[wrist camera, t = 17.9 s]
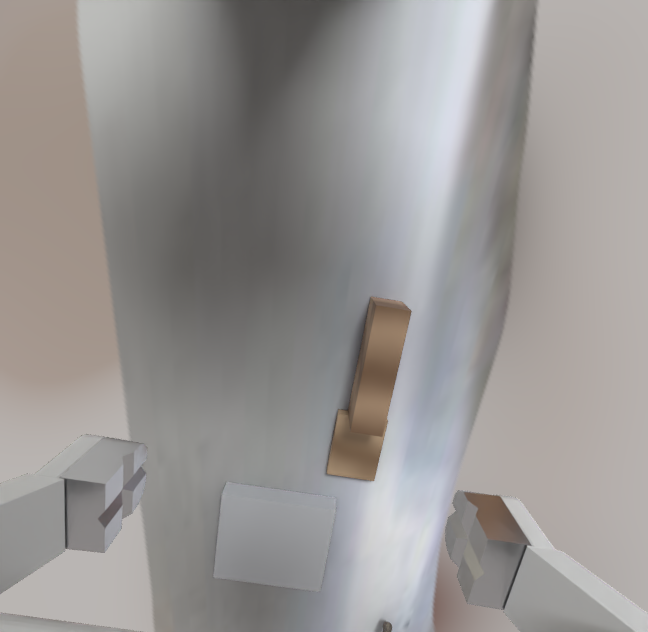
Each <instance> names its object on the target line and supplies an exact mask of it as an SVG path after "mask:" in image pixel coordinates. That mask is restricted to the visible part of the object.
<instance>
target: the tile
mask: <svg viewBox="0 0 648 632" xmlns="http://www.w3.org/2000/svg"><path fill="white" fill-rule="evenodd" d="M335 515H336V498H335V497H328V496H322V495H315V494H308V493H301V492H294V491H287V490H280V489H273V488H266V487H259V486H252V485H245V484H238V483H231V482H226V485H225V487H224V490H223V492H222V497H221V506H220V516H219V525H218V535H217V544H216V554H215V563H214V573H213V578H219V579H227V580H234V581H241V582H248V583H256V584H263V585H270V586H277V587H285V588H292V589H299V590H306V591H314V592H320V591H321V586H322V581H323V576H324V571H325V566H326V561H327V556H328V551H329V545H330V540H331V535H332V530H333V525H334V520H335Z"/></svg>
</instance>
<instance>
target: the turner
mask: <svg viewBox="0 0 648 632" xmlns="http://www.w3.org/2000/svg"><path fill="white" fill-rule="evenodd" d="M410 315H411V310H410V309H409V308H408V307H407V306H406V305H405V304H404V303H403V302H401V301H395V300H389V299H383V298H377V297H371V298H370V303H369V308H368V313H367V318H366V323H365V328H364V333H363V338H362V343H361V348H360V353H359V358H358V363H357V368H356V373H355V378H354V383H353V388H352V392H351V397H350V402H349V407H348V411H347V410H341V409H338V413H337V418H336V423H335V428H334V433H333V439H332V444H331V449H330V454H329V459H328V465H327V474H330V475H337V476H344V477H350V478H357V479H363V480H370V481H374V479H375V475H376V470H377V466H378V462H379V457H380V453H381V449H382V445H383V440H384V436H385V432H386V427H387V423H388V420H387V415H388V411H389V406H390V402H391V398H392V393H393V389H394V385H395V380H396V376H397V372H398V367H399V363H400V359H401V354H402V350H403V346H404V341H405V337H406V333H407V328H408V324H409V320H410Z"/></svg>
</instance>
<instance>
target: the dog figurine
mask: <svg viewBox="0 0 648 632" xmlns="http://www.w3.org/2000/svg"><path fill="white" fill-rule="evenodd" d="M391 630H392V625H391V623H389V622H384V624H383V632H391Z"/></svg>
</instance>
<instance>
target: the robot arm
mask: <svg viewBox="0 0 648 632" xmlns="http://www.w3.org/2000/svg"><path fill="white" fill-rule="evenodd" d="M146 459H147V446H146V445H145V444H144V443H138V442H133V441H127V440H120V439H115V438H109V437H102V436H96V435H89V434H86V435H81V436H80V437H79V438H78V439H76V440H75V441H74V442H73V443H72V444H70V445H69V446H68V447H67V448H65V449H64V450H63V451H62V452H61V453H59V454H58V455H57V456H56V457H55V458H53V459H52V460H51V461H50V462H48V463H47V464H46V465H45V466H44V467H42V468H41V469H40V470H39V471H38V472H36V473H35V474H25V475H22V476H19V477H16V478H13V479H11V480H8V481H5V482H2V483H0V594H1V593H3V592H4V591H6V590H7V589H9V588H10V587H11V586H13V585H15V584H16V583H18V582H19V581H21V580H22V579H24V578H25V577H27V576H28V575H30V574H31V573H33V572H34V571H36V570H37V569H39V568H40V567H42V566H43V565H45V564H46V563H48V562H49V561H51V560H52V559H54V558H56V557H57V556H59V555H60V554H62V553H63V552H65V549H72V550H82V551H91V552H101V553H105V551H106V550H107V549H108V547H109V546H110V544H111V543H112V542H113V540H114V539H115V537H116V536H117V534H118V533H119V532H120V530H121V528H122V519H123V518H125V517H127V516H129V515H130V514H132V513H133V511H134V510H135V508H136V507H137V505H138V504H139V501H140V499H141V497H142V494H143V492H144V488H145V483H146V472H145V471H144V469H143V468H142V466H141V465H142V464H143V463H144V461H145V460H146ZM453 506H454V508H455V510H456V511H455V512H454V513H453V514H452V515H451V516H449V517H448V520H447V524H446V530H445V541H446V546H447V551H448V553H449V556H450V559H451V560H452V561H453V562H454V563H455V564H456V565H457V566H458V567H459V570H458V574H457V578H458V581H459V583H460V586H461V588H462V591H463V594H464V596H465V599H466V602H467V604H472V605H477V606H483V607H489V608H495V609H501V610H504V611H503V612H504V613H505V614H506V616H507V617H508V618H509V619H510V620H511V621H512V623H513V624H514V625H515V626H516V627H517V628H518V630H519V631H520V632H648V613H647V612H645V611H644V610H643V609H641V608H640V607H639V606H637V605H636V604H634V603H633V602H631V601H630V600H629V599H628V598H626V597H625V596H623V595H622V594H620V593H619V592H618V591H617V590H615V589H614V588H612V587H611V586H610V585H608V584H607V583H606V582H604V581H603V580H601V579H600V578H599V577H597V576H596V575H594V574H593V573H592V572H590V571H589V570H588V569H586V568H585V567H583V566H582V565H581V564H579V563H578V562H577V561H575V560H574V559H572V558H571V557H570V556H568V555H567V554H566V553H564V552H563V551H560V550H555V548H554V547H553V546H552V544H551V543H550V541H549V540H548V539H547V537H546V536H545V535H544V533H543V532H542V530H541V529H540V527H539V526H538V525H537V523H536V522H535V520H534V519H533V518H532V516H531V515H530V513H529V512H528V511H527V509H526V508H525V506H524V505H523V504H522V502H521V501H520V500H519V499H517V498H516V497H510V496H502V495H488V494H481V493H474V492H467V491H460V490H458V491H457V493H456V494H455V496H454V499H453ZM0 632H141V631H134V630H125V629H118V628H111V627H104V626H96V625H89V624H82V623H74V622H66V621H59V620H52V619H44V618H37V617H30V616H22V615H15V614H7V613H0Z"/></svg>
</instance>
